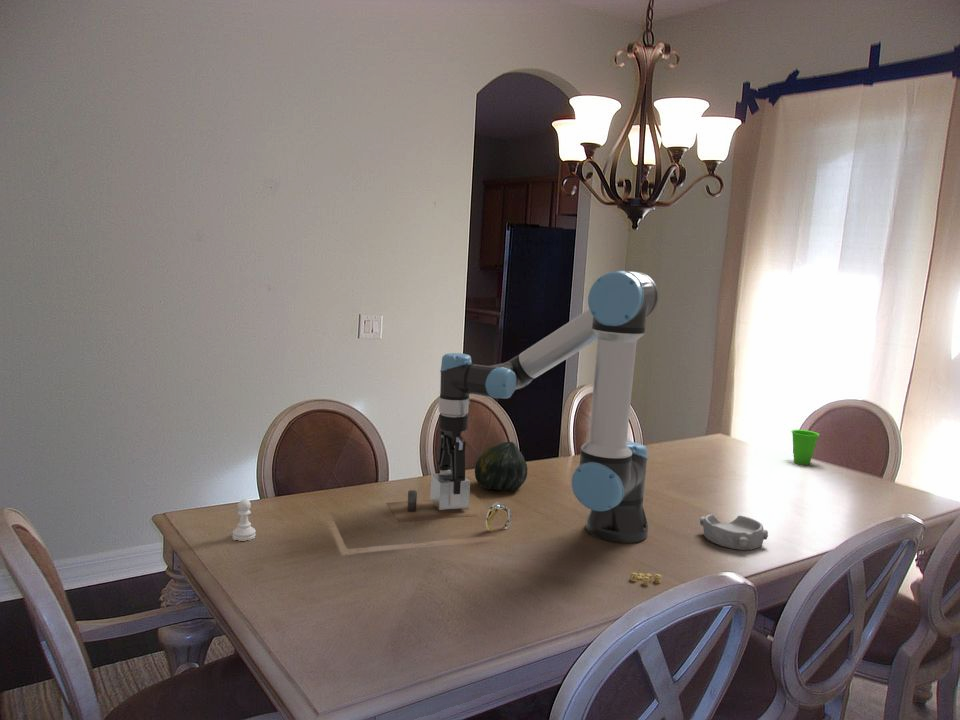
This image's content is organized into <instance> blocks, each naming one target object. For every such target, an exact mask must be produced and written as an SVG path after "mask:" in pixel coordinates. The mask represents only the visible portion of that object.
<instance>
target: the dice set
mask: <svg viewBox="0 0 960 720" xmlns="http://www.w3.org/2000/svg"><path fill="white" fill-rule="evenodd" d="M629 575H630V576H629V580H630V581H631V582H637V581H638V580H640V581H641V584H642V585H643V586H649V585H650V582H651V581H652V579H653V582H654V583H655V584H660V583H661V581H662V575H661V574H659V573H657V574H654V575H653V574H651V573H640V572H639V573H637V572H631V573H630V574H629Z"/></svg>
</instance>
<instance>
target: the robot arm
mask: <svg viewBox="0 0 960 720" xmlns="http://www.w3.org/2000/svg"><path fill="white" fill-rule="evenodd" d="M587 297H588V298H587V304H588V309H587V310H585V311H584V312H582V313H580V314H578V316H576V317H575V318H573V319H571V320H570V321H568V322H567V323H565V324H563V325H562V326H561V327H558V328H557V329H556V330H555V331H553V332H551V333H550V334H548V335H547V336H545V337H543V338H542V339H541V340H539V341H537V342H536V343H534V344H532V345H531V346H529V347H528V348H526V349H525V350H523V351H522V352H521V353H519V354H518V355H516V356H514V357H512V358H510V360H507V361H506V362H502V363H501V362H500V363H498V364H497V363H496V364H494V365H492V364H491V365H481V364H476V363H472V357H471V355H469V354H467V353H458V352H455V353H454V352H450V353H445V354H444V355H442V357H441V366H440V371H439V372H440V389H439V390H440V391H439V396H438V397H439V400H438V412H439V413H440V414H439V415H438V423H437V424H438V426H437V427H438V429H439V430H440V431H439V437H440V438H439V446H438V447H439V448H438V457H437V458H438V459H437V466H439V470H440V471H439V473H452V479H450V480H449V481H450V503H449V505H450V506H460V503H461V482H462V481H465V477H466V446H467V443H466V441H463V438H462V437H463V436H462V432H465V431H467V429H468V428H469V426H468V425H469V416H468V414H469V405H471V401H470V395H477V396H481V397H489V398H493V399H504V400H505V399H510V398H511V397H512V395H513V394H514V392H515V391H516V390H521V389H523V388H525V387H526V386H529V384H530V383H531V382H532V381H533V380H534V379H536V378H538V377H540V376H541V375H543V374H544V373H546V372H547V371H549V370H551V369H553V368H554V367H556V366H557V365H559V364H561V363H562V362H564V361H565V360H567V359H570V358H571V357H572V356H574V355H576V353H579V352H580V351H582V350H584V349H585V348H587V347H589V346H590V345H591V344H593V343H595V342H596V341H597V343H596V344H597V345H596V353H595V354H596V355H595V367H594V377H593V386H592V389H593V390H592V396H591V398H592V399H591V410H590V420H589V432H588V433H589V434H588V440H587V441H586V442H585V443H583V444H582V445H581V447H580V458H579V464H578V465H579V466H578V467H576V469H575V470H574V472H573V474H572V477H571V490H572V492H573V495H574V496H575V498H576V499H577V500H578V502H580V504H581V505H582V506H584V507H585V508H587V509H588V510H590V511H589V513H588V516H587V518H586V526H585V529H586V531H587V532H588V533H589V534H590V535H591V536H593V537H595V538H598V539H601V540H604V541H608V542H613V543H623V544H626V543H627V544H629V543H630V544H631V543H637V542H641V541H644V540H645V539H646V538H647V537H648V533H649V524H648V520H647V517H646V516H647V515H646V512H645V508H644V498H645V497H644V494H645V485H646V484H645V483H646V473H647V462H648V460H649V459H648V448H647V447H646V445H644V444H642V443H637V442H633V441H628V431H629V424H630V423H629V421H630V413H631V403H632V402H631V401H632V390H633V381H634V374H635V373H634V372H635V362H636V352H637V342H638V341H639V340H640V339H641V338H643V336H644V335H645V334H646V332H645V331H646V325H647V324H646V323H647V318H648V317H649V316H650V315H651V314H652V313H653V312H654V311H655V309H656V307H657V305H658V301H659V290H658V287H657V284H656V282H655V281H654V280H653V279H652V278H651V276H649V275H647V274H646V273H645V272H641V271H636V270H629V271H628V270H623V269H622V270H621V269H620V270H613V271H610V272H607V273H605V274H603V275H601V276H600V277H598V278H597V279H596V280H595V281H594V282H593V284H592V285H591V287H590V289H589V292H588V296H587Z"/></svg>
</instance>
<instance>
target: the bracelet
mask: <svg viewBox="0 0 960 720" xmlns="http://www.w3.org/2000/svg"><path fill="white" fill-rule="evenodd" d="M500 510H503V511H504V513H505V515H506V522H505V524H504V526H502V530H507V529H508V528H509V527H510V524H511V523H512V511H511V509H510V507H509V506H507V505H505V502H504V501H503V502H502V503H500V501H497V502H495V503H493V504H492V505H491V506H490V508H489V509H488V511H487V514H486V517H485V526H486V529H487V530H488V531H489V532H490V533H492V532H494V530H493V529H492V527H491V522H492V520H493V517H494V516H496V515H497V514H498V513H499V512H500Z"/></svg>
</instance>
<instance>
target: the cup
mask: <svg viewBox="0 0 960 720" xmlns="http://www.w3.org/2000/svg"><path fill="white" fill-rule="evenodd" d="M790 432H791V434H792V446H793V447H792V448H793V461H794V463H795V464H797V465H800V466H801V465H803V466H808V465H810V464H811V461H812V459H813V454H814V451H815V447H816V444H817V441H818V437H820V433H818V432H815V431H812V430H807V429H806V430H805V429H792V430H791V431H790Z"/></svg>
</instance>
